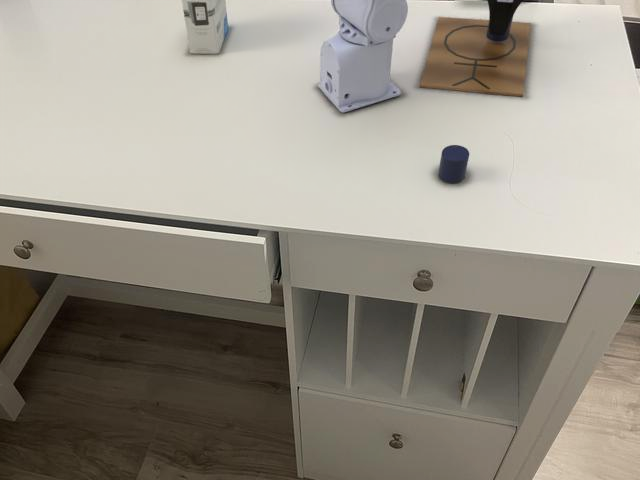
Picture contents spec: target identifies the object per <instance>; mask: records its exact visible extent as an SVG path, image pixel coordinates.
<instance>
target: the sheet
mask: <svg viewBox="0 0 640 480" xmlns="http://www.w3.org/2000/svg"><path fill="white" fill-rule="evenodd" d="M488 24H489V19H488V20H487V19H475V18H462V17H461V18H460V17H444V16H438V18H437V21H436V25H435V29H434V34H433V36H432V39H431V43H430V47H429V50H428V53H427V58H426V61H425V65H424V68H423V72H422V75H421V79H420V82H419V88H426V89H427V88H428V89H436V90H446V91H456V92H457V91H458V92H470V93H479V94H489V95H491V94H492V95H500V96H511V97H521V98H523V97H524V92H525V84H526V82H525V81H526V74H527V65H528V57H529V56H528V55H529V54H528V53H529V46H530V38H531V37H530V36H531V28H532V27H531V26H532V23H531V22H519V21H512V24H511V28H510V33H509V37H508V39H507V40H504V41H499V42H498V41H492V40H489V39H488V38H487V36H486V34H487V29H488Z"/></svg>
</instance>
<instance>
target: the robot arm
mask: <svg viewBox="0 0 640 480" xmlns="http://www.w3.org/2000/svg"><path fill="white" fill-rule="evenodd" d="M486 1H487V5H488V11H489V12H488V13H489V17H488V20H489V31H490V34H493V35H504V34H505V33H506V31H507V29H508V27H509V24H510V22H511V20H512V17H513V18H514V15H515V13H516V11H517V10H518V8H519V7H520V5H521V4H522V2H523V1H524V0H486ZM330 4H331V7H332V10H333V11H334V13H336V15H338V25H339V31H338V32H337V33H336V34H335V35H333V36H332V37H330V38H328V39H326V40H323V42H322V43H321V46H320V55H319V56H320V57H319V59H320V60H319V61H320V63H319V65H320V66H319V69H320V71H319V73H320V74H319V76H320V78H319V80H320V81H319V82H318V84H317V87H318V88H319V89H320V90H321V92H322V93H323V94H324V96H326V97H327V99H328V100H330V102H331V103H332V104H333V105H334V106H335V107H336V109H337V110H339V112H340V113H347V112H350V111H353V110H357V109H360V108H363V107H366V106H369V105H373V104H376V103H380V102H382V101H385V100H389V99H392V98H395V97H399V96H401V95H402V91H401V89H399V88H398V87H397V86H396V85H395V84H394V83H393V82H392V81H391V71H392V70H391V69H392V59H393V58H392V57H393V49H394V48H393V47H394V39H395V38H396V37H397V35H398V33H400V31H401V30H402V29H403V26H404V25H405V22H406V20H407V17H408V13H409V6H408V2H407V0H330ZM512 21H513V20H512Z"/></svg>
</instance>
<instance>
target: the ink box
mask: <svg viewBox="0 0 640 480" xmlns="http://www.w3.org/2000/svg"><path fill="white" fill-rule="evenodd" d="M226 2H227V1H226V0H181V4H182V11H183V17H184V23H185V29H186V37H187V43H188V47H189V53H190V54H194V55H195V54H197V55H199V54H202V55H204V54H205V55H207V54H208V55H217V54H219V53H220V51H221V48H222V46H223V43H224V41H225V39H226V35H227V33H228V30H229V22H228V12H227V3H226Z"/></svg>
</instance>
